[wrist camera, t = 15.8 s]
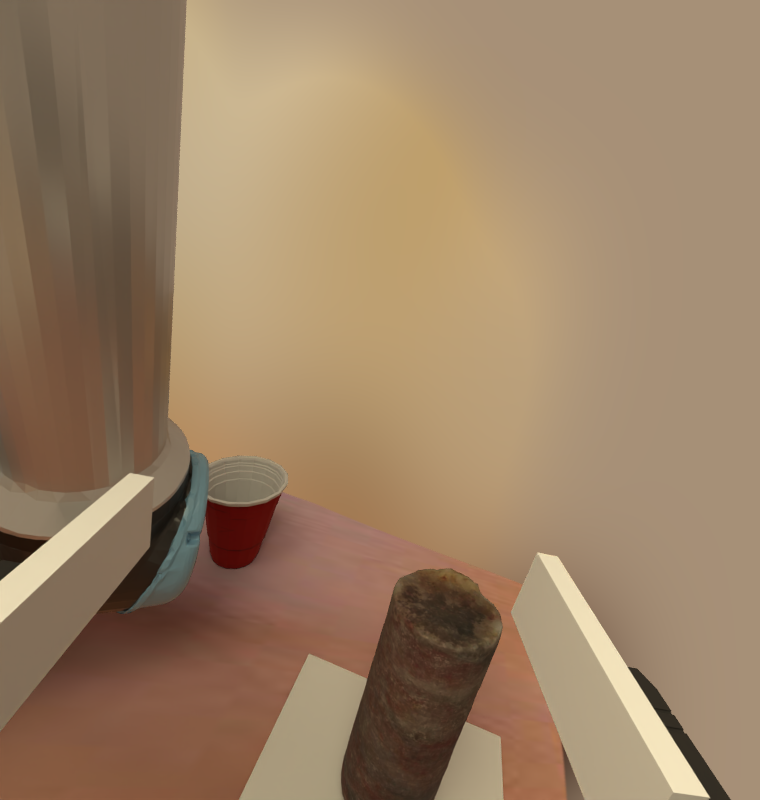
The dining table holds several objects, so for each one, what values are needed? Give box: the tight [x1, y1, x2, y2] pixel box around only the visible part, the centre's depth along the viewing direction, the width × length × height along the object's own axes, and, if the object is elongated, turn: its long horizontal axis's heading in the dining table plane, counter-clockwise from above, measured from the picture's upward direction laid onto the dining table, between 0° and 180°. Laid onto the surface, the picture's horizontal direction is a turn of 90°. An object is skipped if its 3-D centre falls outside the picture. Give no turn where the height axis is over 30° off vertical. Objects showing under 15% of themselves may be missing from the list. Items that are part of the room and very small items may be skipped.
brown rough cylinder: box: [341, 569, 503, 800], centre depth 28 cm, size 8×7×20 cm
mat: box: [239, 654, 503, 800], centre depth 32 cm, size 20×16×1 cm
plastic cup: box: [205, 456, 288, 569], centre depth 50 cm, size 11×11×12 cm
